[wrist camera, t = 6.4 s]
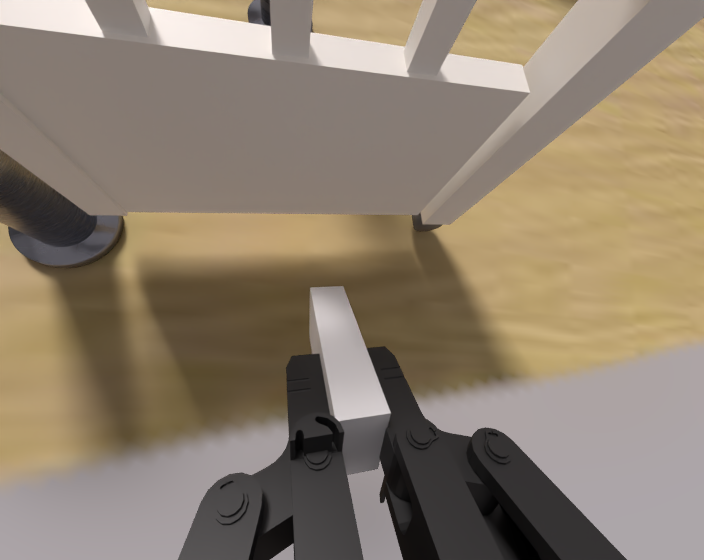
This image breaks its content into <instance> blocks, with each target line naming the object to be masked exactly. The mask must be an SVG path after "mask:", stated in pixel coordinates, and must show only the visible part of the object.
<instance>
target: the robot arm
mask: <svg viewBox="0 0 704 560" xmlns="http://www.w3.org/2000/svg"><path fill="white" fill-rule="evenodd" d="M309 337H310V343H311V350H312V354H309V355H298V356H292V357H291V359H290V361H289V363H288V365H287V367H286V373H287V400H288V424H289V441H288V444H287V447H286V449H285V451H284V452H283V454H282V455H281V456H280V457H279V458H278V459H277V460H276V462H274V463H273V464H271V465H270V466H268V467H266V468H265V469H263V470H261V471H259V472H257V473H255V474H254V475H248V474H244V473H235V474H229V475H228V476H226V477H224V478H222V479H220V480H218V481H217V482H216V483H215V484H214V485H213V486H212V487H211V488H210V489H209V490H208V491H207V493H206V495H205V496H204V498H203V500H202V502H201V504H200V506H199V509H198V511H197V514H196V516H195V519H194V521H193V523H192V526H191V528H190V531H189V534H188V536H187V539H186V541H185V543H184V546H183V548H182V551H181V554H180V556H179V559H178V560H270V559H271V558H273V557H274V556H276V555H277V554H278V553H280V552H281V551H283V550H284V549H285V548H287V547H288V546H290V545H291V544H293V543H294V560H363V555H362V549H361V544H360V539H359V535H358V530H357V524H356V519H355V514H354V509H353V504H352V499H351V494H350V489H349V484H348V478H347V475H349V474H354V473H359V472H364V471H369V470H375V469H378V466H379V461H381V464H382V468H383V471H384V475H385V476H384V480H383V483H382V487H381V491H380V503H383V502H384V500H385V497H386V499H387V503H388V507H389V511H390V514H391V518H392V521H393V525H394V528H395V532H396V535H397V539H398V543H399V546H400V550H401V554H402V557H403V560H627V559H626V558H625V557H624V556H623V555H622V554H621V553H620V552H619V551H618V550H617V549H616V548H615V547H614V546H613V545H612V544H611V543H610V542H609V541H608V540H607V538H606V537H604V535H603V534H602V533H601V532H600V531H599V530H598V529H597V528H596V527H595V526H594V525H593V524H592V523H591V522H590V521H589V520H588V519H587V518H586V517H585V516H584V515H583V514H582V512H581V511H580V510H579V509H578V508H577V507H576V506H575V505H574V504H573V503H572V502H571V501H570V500H569V499H568V498H567V497H566V496H565V495H564V494H563V493H562V492H561V491H560V489H559V488H558V487H557V486H556V485H555V484H554V483H553V482H552V481H551V480H550V479H549V478H548V477H547V476H546V475H545V474H544V473H543V472H542V471H541V470H540V469H539V468H538V467H537V466H536V465H535V463H533V461H532V460H530V458H529V457H528V456H527V455H526V454H525V453H524V452H523V451H522V450H521V449H520V448H519V447H518V446H517V445H516V444H515V443H514V442H513V441H512V440H511V439H510V438H509V437H508V436H506V435H505V434H504V433H502V432H500V431H497V430H496V429H491V428H481V429H478V430H477V431H476V432H475V433H474V434H473V436H472V437H468V436H463V435H457V434H451V433H447V432H443V431H441V430H439V429H437V427H436V426H435V425H434V424H433V423H431V422H430V421H429V420H427V419H425V417H424V416H423V414H422V412H421V410H420V408H419V406H418V404H417V402H416V400H415V398H414V396H413V394H412V392H411V389H410V387H409V385H408V383H407V381H406V379H405V378H404V375H403V373H402V371H401V369H400V366H399V364H398V362H397V360H396V358H395V356H394V355H393V354H392V353H391V352H390V351H389V350H388V349H387V348H386V347H385V346H384V347H373V348H366V346H365V343H364V340H363V338H362V335H361V332H360V330H359V327H358V324H357V322H356V319H355V316H354V314H353V311H352V308H351V306H350V303H349V300H348V298H347V295H346V292H345V290H344V287H343V286H333V287H310V319H309Z"/></svg>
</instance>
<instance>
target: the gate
mask: <svg viewBox="0 0 704 560" xmlns="http://www.w3.org/2000/svg"><path fill="white" fill-rule="evenodd" d="M476 1H477V0H423V1H422V4H421V7H420V9H419V12H418V14H417V17H416V20H415V22H414V25H413V27H412V30H411V33H410V35H409V38H408V41H407V43H406V46H405V47H402V46H396V45H389V44H383V43H377V42H370V41H364V40H357V39H351V38H344V37H338V36H331V35H325V34H318V33H312V32H311V21H312V9H313V0H270V18H271V26H266V25H260V24H253V23H247V22H240V21H234V20H227V19H221V18H215V17H208V16H202V15H195V14H189V13H182V12H176V11H169V10H163V9H156V8H150V7H148V6H147V3H146V0H0V149H1V150H2V151H3V152H5V153H6V154H7V155H9V156H10V157H11V158H13V159H14V160H15V161H17V162H18V163H19V164H21V165H22V166H24V167H25V168H26V169H28V170H29V171H30V172H32V173H33V174H34V175H36V176H37V177H38V178H40V179H41V180H43V181H44V182H45V183H47V184H48V185H49V186H51V187H52V188H53V189H55V190H56V191H57V192H59V193H60V194H61V195H63V196H64V197H66V198H67V199H68V200H70V201H71V202H72V203H74V204H75V205H76V206H78V207H79V208H80V209H82V210H83V211H85V212H86V213H87V214H89V215H119V216H127V212H178V213H269V214H361V215H412V220H413V226H414V229H415V230H416V231H430V230H433V229H436V228H438V227H440V226H442V225H450V224H451V223H453V222H454V221H455V220H456V219H458V218H459V217H460V216H461V215H462V214H464V213H465V212H466V211H467V210H469V209H470V208H471V207H472V206H473V205H475V204H476V203H477V202H478V201H480V200H481V199H482V198H483V197H484V196H486V195H487V194H488V193H489V192H491V191H492V190H493V189H494V188H496V187H497V186H498V185H499V184H500V183H502V182H503V181H504V180H505V179H507V178H508V177H509V176H510V175H511V174H513V173H514V172H515V171H516V170H518V169H519V168H520V167H521V166H522V165H524V164H525V163H526V162H527V161H529V160H530V159H531V158H532V157H533V156H535V155H536V154H537V153H538V152H540V151H541V150H542V149H543V148H544V147H546V146H547V145H548V144H549V143H551V142H552V141H553V140H554V139H555V138H557V137H558V136H559V135H560V134H562V133H563V132H564V131H565V130H566V129H568V128H569V127H570V126H571V125H573V124H574V123H575V122H576V121H578V120H579V119H580V118H581V117H582V116H584V115H585V114H586V113H587V112H589V111H590V110H591V109H592V108H593V107H595V106H596V105H597V104H598V103H600V102H601V101H602V100H603V99H604V98H606V97H607V96H608V95H609V94H611V93H612V92H613V91H614V90H615V89H617V88H618V87H619V86H620V85H622V84H623V83H624V82H625V81H626V80H628V79H629V78H630V77H631V76H633V75H634V74H635V73H636V72H637V71H639V70H640V69H641V68H642V67H644V66H645V65H646V64H647V63H648V62H650V61H651V60H652V59H653V58H655V57H656V56H657V55H658V54H660V53H661V52H662V51H663V50H664V49H666V48H667V47H668V46H669V45H671V44H672V43H673V42H674V41H675V40H677V39H678V38H679V37H680V36H682V35H683V34H684V33H685V32H686V31H688V30H689V29H690V28H691V27H693V26H694V25H695V24H696V23H697V22H699V21H700V20H701V19H702V18H704V0H578V1H577V2H576V3H575V5H574V6H573V7H572V8H571V10H570V11H569V12H568V13H567V14H566V16H565V17H564V18H563V19H562V21H561V22H560V23H559V24H558V25H557V27H556V28H555V29H554V30H553V32H552V33H551V34H550V35H549V36H548V38H547V39H546V40H545V41H544V43H543V44H542V45H541V46H540V48H539V49H538V50H537V51H536V52H535V54H534V55H533V56H532V57H531V59H530V60H529V61H528V62H527V63H526V65H525V66H524V67H522V65H519V64H513V63H506V62H500V61H493V60H487V59H480V58H474V57H467V56H461V55H454V54H448V53H449V51H450V49H451V47H452V46H453V44H454V42H455V40H456V38H457V36H458V34H459V32H460V31H461V29H462V27H463V25H464V23H465V21H466V19H467V18H468V16H469V14H470V12H471V10H472V8H473V6H474V4H475V3H476Z"/></svg>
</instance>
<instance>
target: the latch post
mask: <svg viewBox="0 0 704 560" xmlns="http://www.w3.org/2000/svg"><path fill="white" fill-rule="evenodd" d="M248 21H249V23H253V24H260V25H266V26H271V18H270V0H254V1H253V2H252V3H251V4H250V6H249V8H248ZM311 32H312V21H311Z"/></svg>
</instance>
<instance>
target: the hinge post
mask: <svg viewBox="0 0 704 560" xmlns="http://www.w3.org/2000/svg"><path fill="white" fill-rule="evenodd" d="M0 222H1V223H3V224H5V225H7V226H8V229H9V236H10V239H11V241H12V243H13V245H14V246H15V247H16V249H17V250H18V251H19V252H20V253H22V254H23V255H24V256H26V257H28V258H29V259H31V260H34V261H36V262H39V263H42V264H44V265H47V266H51V267H57V268H74V267H79V266H83V265H87V264H90V263H92V262H94V261H96V260H98V259H100V258H102V257H103V256H105V255H106V254H107V253H108V252H109V251H110V250H111V249H112V248H113V247H114V246H115V245H116V243H117V242H118V240H119V238H120V236H121V233H122V229H123V218H122V216H119V215H89V214H87V213H86V212H85V211H83V210H82V209H80V208H79V207H78V206H76V205H75V204H74V203H72V202H71V201H70V200H68V199H67V198H66V197H64V196H63V195H61V194H60V193H59V192H57V191H56V190H55V189H53V188H52V187H51V186H49V185H48V184H47V183H45V182H44V181H43V180H41V179H40V178H38V177H37V176H36V175H34V174H33V173H32V172H30V171H29V170H28V169H26V168H25V167H24V166H22V165H21V164H19V163H18V162H17V161H15V160H14V159H13V158H11V157H10V156H9V155H7V154H6V153H5V152H3V151H2V150H1V149H0Z"/></svg>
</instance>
